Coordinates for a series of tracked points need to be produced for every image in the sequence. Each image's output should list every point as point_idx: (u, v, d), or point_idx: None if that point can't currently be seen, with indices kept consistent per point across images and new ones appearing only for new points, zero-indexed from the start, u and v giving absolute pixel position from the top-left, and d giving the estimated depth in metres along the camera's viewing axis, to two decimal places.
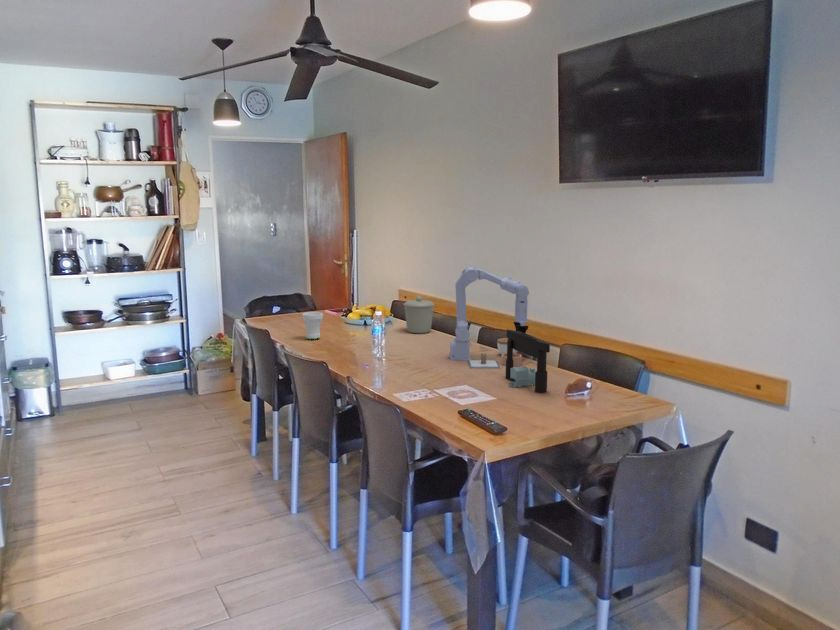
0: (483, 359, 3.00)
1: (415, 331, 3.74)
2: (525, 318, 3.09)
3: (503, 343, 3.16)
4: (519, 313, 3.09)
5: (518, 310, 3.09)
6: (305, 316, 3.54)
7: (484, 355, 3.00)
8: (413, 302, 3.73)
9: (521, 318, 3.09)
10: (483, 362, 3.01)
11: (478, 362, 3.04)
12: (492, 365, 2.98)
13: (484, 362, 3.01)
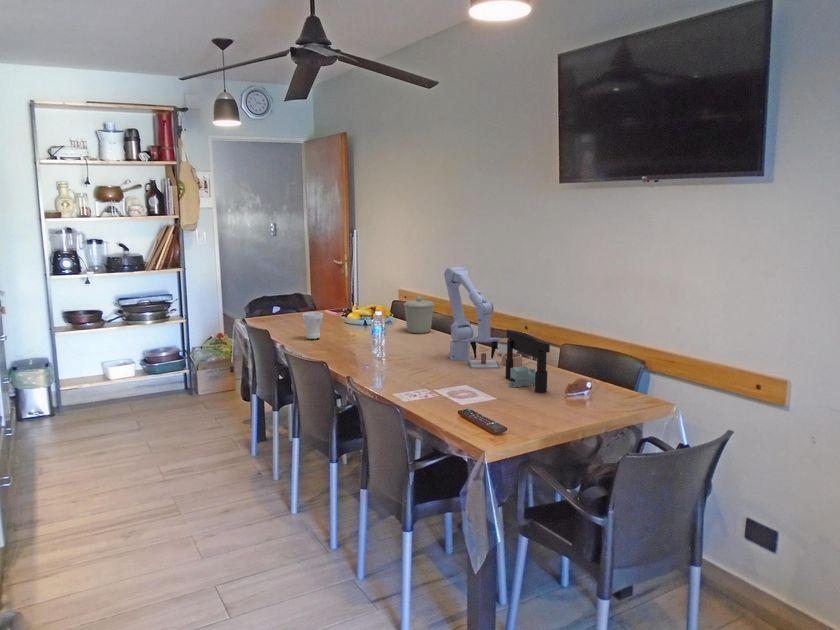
0: (483, 359, 3.00)
1: (415, 331, 3.74)
2: (479, 337, 2.98)
3: (503, 343, 3.16)
4: None
5: None
6: (305, 316, 3.54)
7: (484, 355, 3.00)
8: (413, 302, 3.73)
9: None
10: (483, 362, 3.01)
11: (478, 362, 3.04)
12: (492, 365, 2.98)
13: (484, 362, 3.01)
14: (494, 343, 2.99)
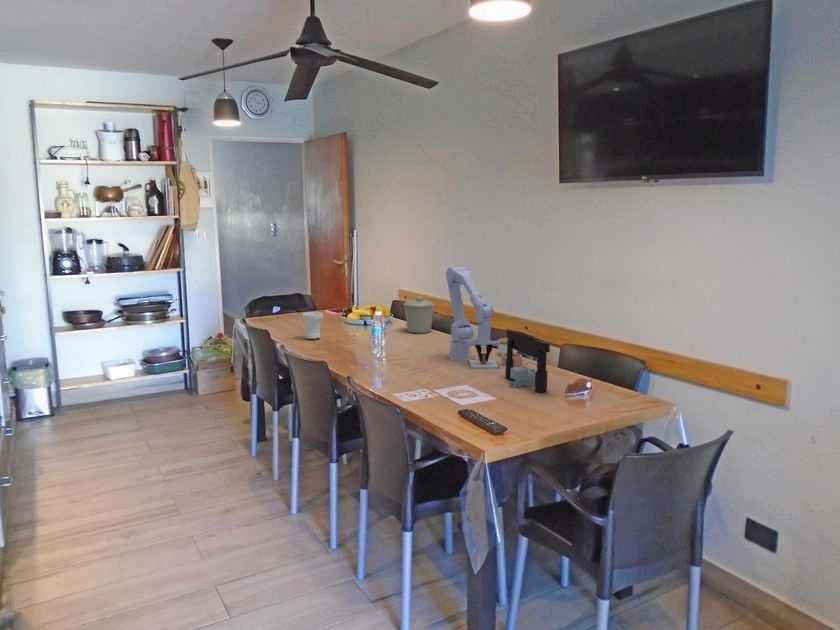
0: (483, 359, 3.00)
1: (415, 331, 3.74)
2: (479, 340, 2.98)
3: (503, 343, 3.16)
4: None
5: None
6: (305, 316, 3.54)
7: (484, 355, 3.00)
8: (413, 302, 3.73)
9: None
10: (483, 362, 3.01)
11: (478, 362, 3.04)
12: (492, 365, 2.98)
13: (484, 362, 3.01)
14: None
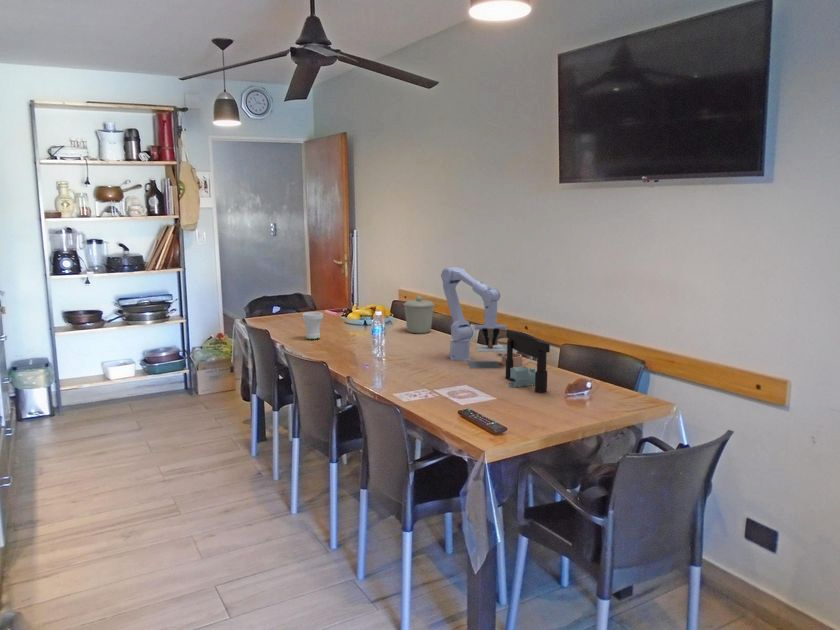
0: (490, 343, 2.99)
1: (415, 331, 3.74)
2: (486, 324, 2.97)
3: (503, 343, 3.16)
4: None
5: None
6: (305, 316, 3.54)
7: (491, 339, 2.99)
8: (413, 302, 3.73)
9: (484, 323, 2.99)
10: (490, 346, 3.00)
11: (485, 346, 3.02)
12: (499, 349, 2.97)
13: (491, 346, 3.00)
14: None
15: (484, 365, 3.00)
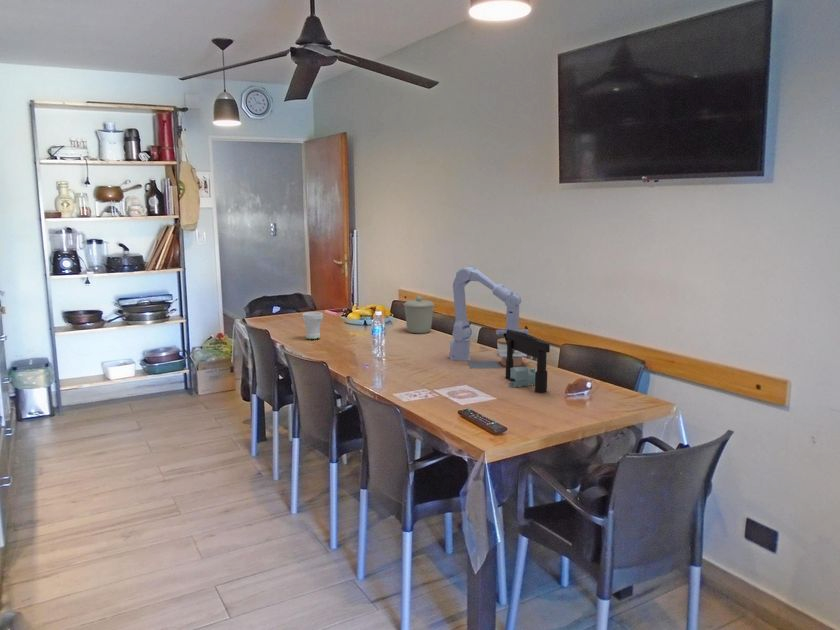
0: None
1: (415, 331, 3.74)
2: None
3: (503, 343, 3.16)
4: None
5: None
6: (305, 316, 3.54)
7: None
8: (413, 302, 3.73)
9: (506, 328, 3.00)
10: None
11: (506, 352, 3.04)
12: (521, 354, 2.98)
13: None
14: None
15: (484, 365, 3.00)
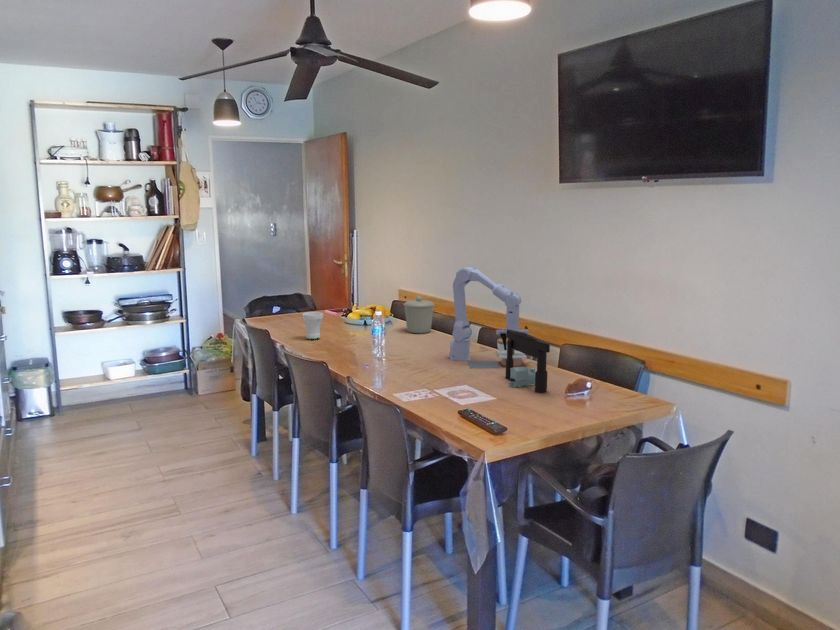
0: None
1: (415, 331, 3.74)
2: None
3: None
4: None
5: None
6: (305, 316, 3.54)
7: None
8: (413, 302, 3.73)
9: (506, 328, 3.00)
10: None
11: (506, 353, 3.04)
12: (521, 356, 2.98)
13: None
14: None
15: (484, 365, 3.00)
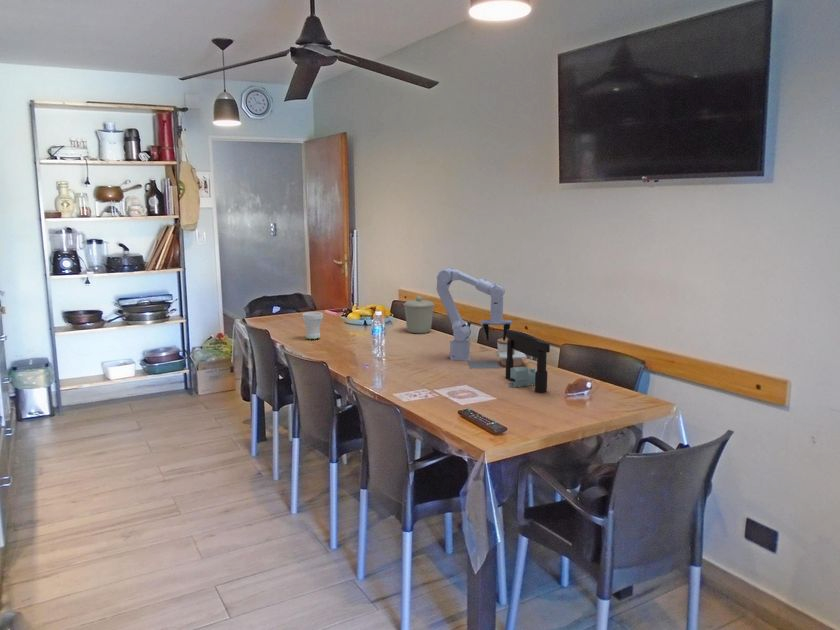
0: None
1: (415, 331, 3.74)
2: (492, 319, 3.04)
3: (503, 343, 3.16)
4: None
5: None
6: (305, 316, 3.54)
7: None
8: (413, 302, 3.73)
9: (490, 318, 3.06)
10: None
11: (506, 353, 3.04)
12: (521, 356, 2.98)
13: None
14: (506, 326, 3.05)
15: (484, 365, 3.00)
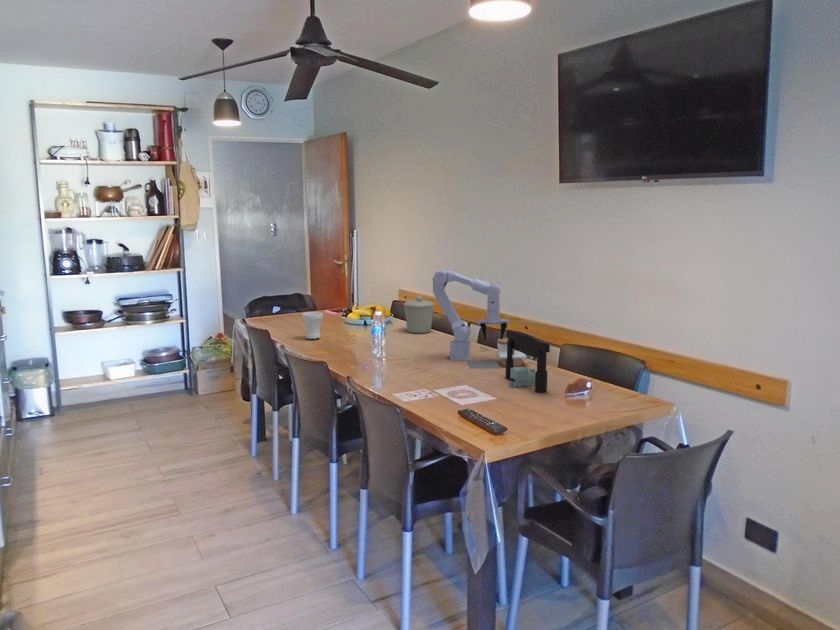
0: None
1: (415, 331, 3.74)
2: (489, 319, 3.06)
3: (503, 343, 3.16)
4: None
5: None
6: (305, 316, 3.54)
7: None
8: (413, 302, 3.73)
9: (487, 318, 3.08)
10: None
11: (506, 353, 3.04)
12: (521, 356, 2.98)
13: None
14: (503, 324, 3.06)
15: (484, 365, 3.00)
